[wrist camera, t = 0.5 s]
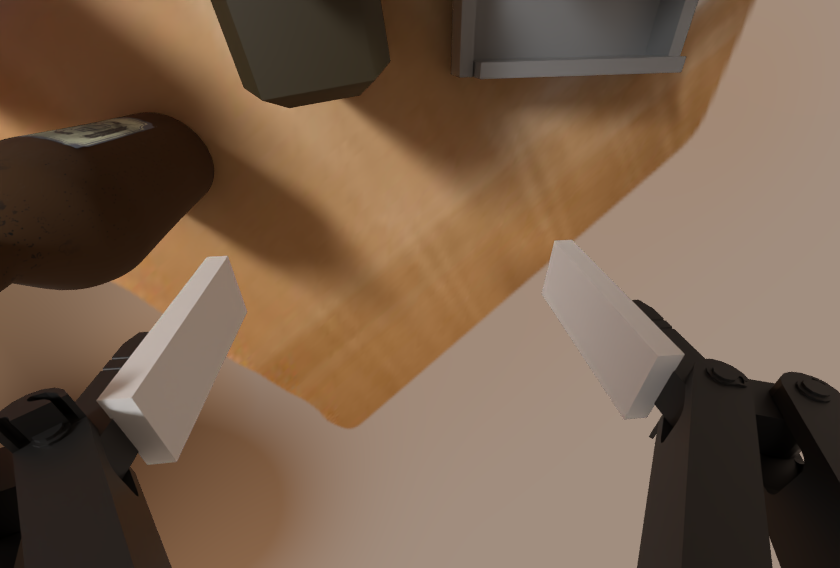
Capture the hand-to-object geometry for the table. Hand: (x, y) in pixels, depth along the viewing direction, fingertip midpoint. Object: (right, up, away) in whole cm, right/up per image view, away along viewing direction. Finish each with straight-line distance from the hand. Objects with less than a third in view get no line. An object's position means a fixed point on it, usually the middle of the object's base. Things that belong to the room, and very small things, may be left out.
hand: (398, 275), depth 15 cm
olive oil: (-26, +13, +23) cm, 37 cm away
